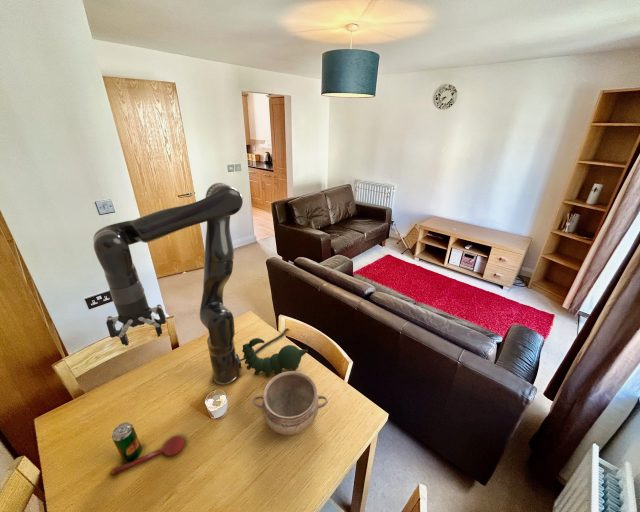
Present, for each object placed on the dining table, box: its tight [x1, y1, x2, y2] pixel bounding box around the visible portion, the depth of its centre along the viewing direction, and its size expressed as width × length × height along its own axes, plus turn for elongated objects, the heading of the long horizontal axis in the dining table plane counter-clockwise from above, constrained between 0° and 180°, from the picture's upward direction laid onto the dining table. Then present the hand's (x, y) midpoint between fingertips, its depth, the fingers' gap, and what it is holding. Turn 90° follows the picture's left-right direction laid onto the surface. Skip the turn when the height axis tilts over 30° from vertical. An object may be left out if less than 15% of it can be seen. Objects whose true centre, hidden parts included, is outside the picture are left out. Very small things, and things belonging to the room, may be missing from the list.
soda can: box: [111, 421, 143, 464], centre depth 80 cm, size 5×5×12 cm
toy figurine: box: [241, 337, 309, 378], centre depth 108 cm, size 9×19×25 cm
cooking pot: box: [252, 370, 329, 436], centre depth 92 cm, size 25×19×12 cm
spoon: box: [111, 435, 185, 476], centre depth 81 cm, size 18×6×1 cm, turn 119°
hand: (143, 339), depth 85 cm, fingers open, 8 cm apart
